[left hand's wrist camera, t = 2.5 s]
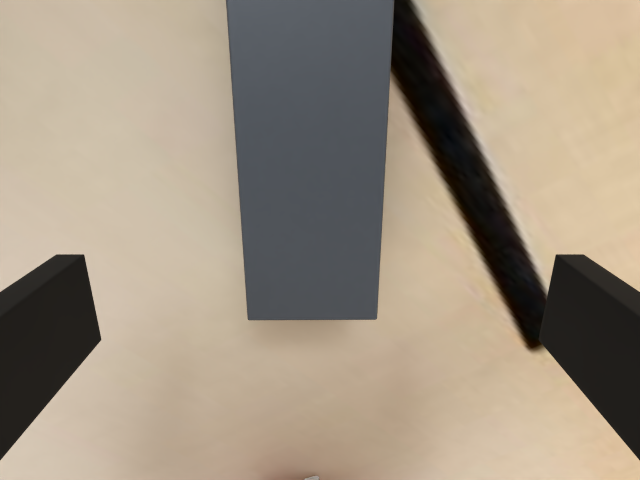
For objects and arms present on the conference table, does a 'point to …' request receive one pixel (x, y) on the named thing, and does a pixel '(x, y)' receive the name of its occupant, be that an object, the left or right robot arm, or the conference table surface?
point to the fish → (312, 478)
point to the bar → (311, 152)
